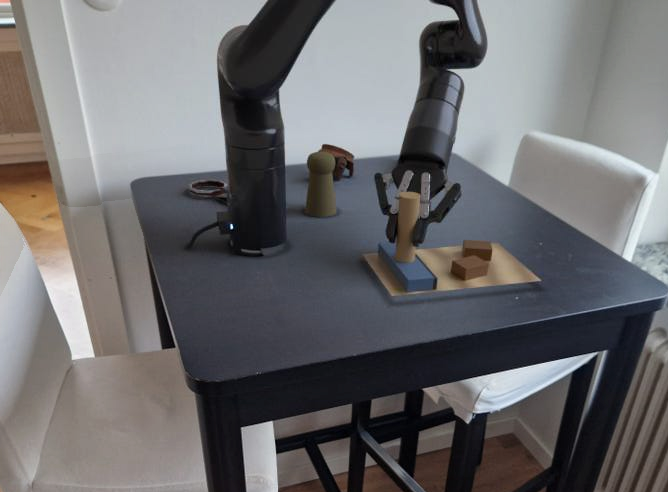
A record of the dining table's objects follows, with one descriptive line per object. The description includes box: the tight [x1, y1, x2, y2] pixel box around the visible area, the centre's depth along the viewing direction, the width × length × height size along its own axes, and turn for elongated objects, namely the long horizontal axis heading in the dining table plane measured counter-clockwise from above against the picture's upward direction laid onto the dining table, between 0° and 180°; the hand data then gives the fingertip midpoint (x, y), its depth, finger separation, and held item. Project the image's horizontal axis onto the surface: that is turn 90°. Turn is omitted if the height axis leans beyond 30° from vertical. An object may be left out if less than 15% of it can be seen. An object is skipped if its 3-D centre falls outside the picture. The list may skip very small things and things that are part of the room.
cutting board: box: [361, 242, 542, 297], centre depth 106 cm, size 24×15×2 cm, turn 106°
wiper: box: [377, 192, 438, 292], centre depth 101 cm, size 5×14×12 cm, turn 16°
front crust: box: [451, 255, 489, 281], centre depth 103 cm, size 4×3×2 cm
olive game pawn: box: [304, 151, 337, 218], centre depth 126 cm, size 6×6×11 cm
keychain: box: [188, 179, 228, 204], centre depth 132 cm, size 8×19×2 cm, turn 55°
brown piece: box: [308, 143, 355, 183], centre depth 143 cm, size 12×10×8 cm
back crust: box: [462, 239, 493, 261], centre depth 109 cm, size 4×3×2 cm
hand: (403, 242), depth 99 cm, fingers closed on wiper, 3 cm apart
